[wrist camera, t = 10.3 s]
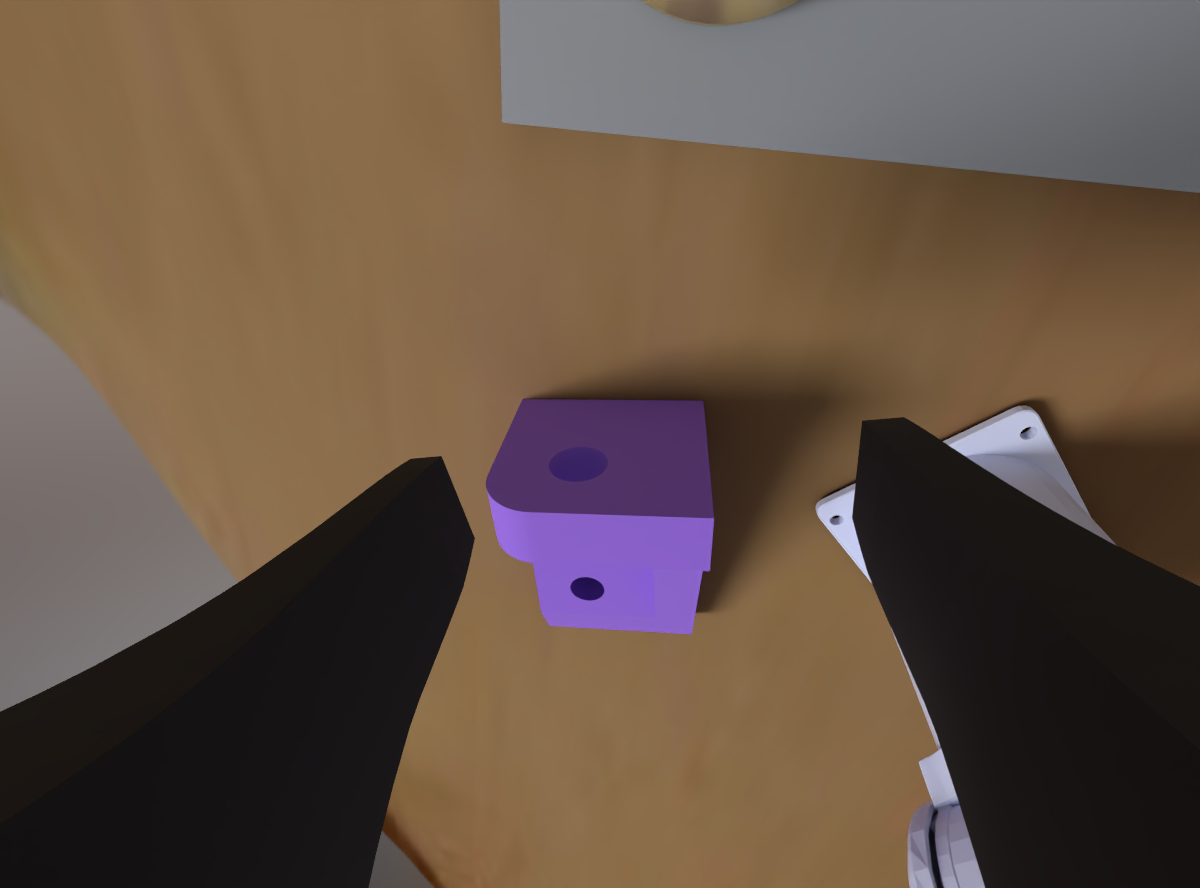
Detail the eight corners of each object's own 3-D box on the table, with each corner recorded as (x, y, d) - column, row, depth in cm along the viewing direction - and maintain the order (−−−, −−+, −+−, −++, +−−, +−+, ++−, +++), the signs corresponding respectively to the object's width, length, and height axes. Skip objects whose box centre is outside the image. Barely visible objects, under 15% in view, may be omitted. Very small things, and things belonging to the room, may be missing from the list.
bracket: (524, 394, 21) (471, 510, 16) (703, 395, 21) (714, 518, 15) (555, 600, 28) (525, 733, 22) (690, 608, 27) (695, 747, 22)
